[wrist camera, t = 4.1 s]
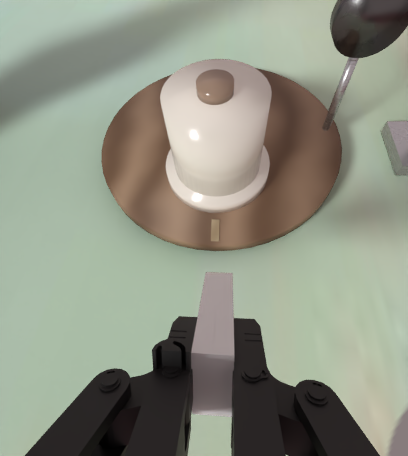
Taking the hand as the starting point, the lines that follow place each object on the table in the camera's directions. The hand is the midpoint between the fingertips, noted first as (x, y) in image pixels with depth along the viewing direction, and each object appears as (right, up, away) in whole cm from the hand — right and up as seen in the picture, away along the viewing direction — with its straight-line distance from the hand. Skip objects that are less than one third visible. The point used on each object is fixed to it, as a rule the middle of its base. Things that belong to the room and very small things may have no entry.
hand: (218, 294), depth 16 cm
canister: (+1, +10, +15) cm, 19 cm away
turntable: (+1, +13, +20) cm, 24 cm away
